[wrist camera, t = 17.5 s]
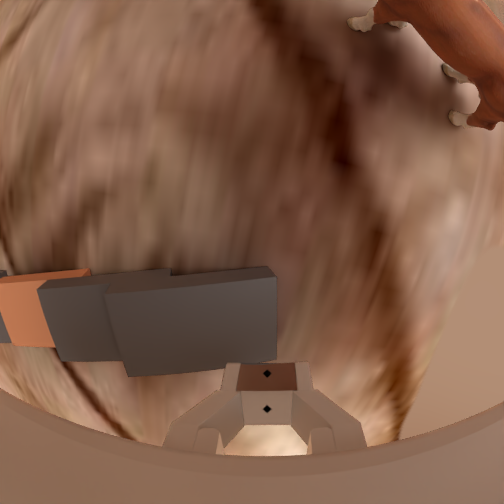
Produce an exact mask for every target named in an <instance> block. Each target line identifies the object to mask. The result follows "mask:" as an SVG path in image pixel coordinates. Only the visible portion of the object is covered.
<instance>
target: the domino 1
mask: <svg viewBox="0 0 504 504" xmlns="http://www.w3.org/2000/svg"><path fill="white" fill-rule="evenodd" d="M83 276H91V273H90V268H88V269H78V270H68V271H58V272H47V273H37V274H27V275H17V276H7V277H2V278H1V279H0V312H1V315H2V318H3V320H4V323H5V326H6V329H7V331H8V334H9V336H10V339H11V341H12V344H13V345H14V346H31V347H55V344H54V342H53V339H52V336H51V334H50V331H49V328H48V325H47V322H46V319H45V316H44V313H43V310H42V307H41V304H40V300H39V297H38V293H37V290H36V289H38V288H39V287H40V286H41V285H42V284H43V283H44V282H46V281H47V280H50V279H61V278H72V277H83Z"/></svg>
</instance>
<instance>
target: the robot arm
mask: <svg viewBox="0 0 504 504" xmlns="http://www.w3.org/2000/svg"><path fill="white" fill-rule="evenodd" d="M267 424H268V425H291V426H292V428H293V429H294V430H295V431H296V432H297V434H298V435H299V436H300V437H301V438H302V440H303V441H304V442H305V443H306V444H307V445H308V448H307V454H306V455H295V456H237V455H225V453H224V448H225V447H226V446H227V444H228V443H229V442H230V441H231V440H232V439H233V438H234V437H235V436H236V435H237V434H238V433H239V431H240V430H241V429H242V428H243V427H244V425H267ZM0 504H504V402H502V403H500V404H498V405H496V406H494V407H491V408H489V409H487V410H485V411H483V412H481V413H478V414H476V415H474V416H471V417H469V418H466V419H464V420H461V421H459V422H457V423H454V424H451V425H448V426H446V427H442V428H439V429H437V430H433V431H430V432H427V433H424V434H420V435H417V436H413V437H410V438H406V439H402V440H398V441H394V442H390V443H385V444H381V445H376V446H370V447H367V444H366V441H365V437H364V433H363V430H362V427H361V423H360V422H359V421H358V420H357V419H355V418H354V417H353V416H351V415H350V414H349V413H347V412H346V411H345V410H343V409H342V408H341V407H339V406H338V405H337V404H335V403H334V402H333V401H332V400H330V399H329V398H328V397H326V396H325V395H324V394H323V393H321V392H320V391H319V390H314V389H313V383H312V377H311V372H310V366H309V362H308V361H304V362H295V363H227V364H226V367H225V372H224V376H223V380H222V384H221V389H220V391H215V392H214V393H212V394H211V395H210V396H208V397H207V398H205V399H204V400H203V401H201V402H200V403H199V404H197V405H196V406H195V407H193V408H192V409H190V410H189V411H188V412H186V413H185V414H183V415H182V416H180V417H179V418H178V419H176V420H175V421H173V422H172V423H171V425H170V428H169V431H168V433H167V436H166V438H165V441H164V444H163V446H162V447H161V446H155V445H151V444H146V443H141V442H137V441H133V440H129V439H125V438H121V437H117V436H114V435H110V434H107V433H103V432H100V431H97V430H94V429H91V428H88V427H85V426H82V425H79V424H76V423H73V422H71V421H68V420H66V419H63V418H60V417H58V416H56V415H53V414H51V413H48V412H46V411H44V410H42V409H39V408H37V407H35V406H33V405H31V404H29V403H27V402H25V401H23V400H21V399H19V398H17V397H15V396H13V395H11V394H9V393H8V392H6V391H4V390H3V389H1V388H0Z"/></svg>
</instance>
